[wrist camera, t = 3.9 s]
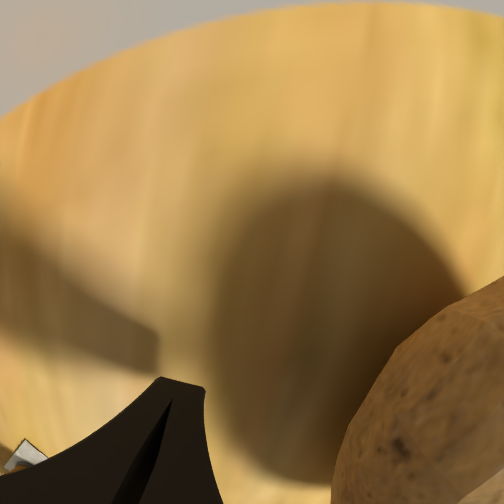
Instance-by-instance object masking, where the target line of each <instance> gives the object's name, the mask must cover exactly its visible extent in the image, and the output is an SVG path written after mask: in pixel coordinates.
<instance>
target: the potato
mask: <svg viewBox="0 0 504 504" xmlns="http://www.w3.org/2000/svg"><path fill="white" fill-rule="evenodd" d="M331 504H504V276H503V277H501V278H499V279H497V280H496V281H494V282H492V283H490V284H489V285H487V286H485V287H483V288H482V289H480V290H478V291H476V292H474V293H472V294H470V295H469V296H467V297H465V298H463V299H461V300H459V301H457V302H455V303H453V304H451V305H449V306H447V307H445V308H444V309H443V310H441V311H440V312H439V313H437V314H436V315H434V316H433V317H432V318H430V319H429V320H428V321H427V322H426V323H425V324H424V325H422V326H421V327H420V328H419V329H418V330H416V331H415V332H414V333H413V334H412V335H410V336H409V337H408V338H407V339H406V340H404V341H403V342H402V343H401V344H399V345H398V346H397V347H396V349H395V351H394V352H393V354H392V355H391V357H390V359H389V360H388V362H387V363H386V365H385V367H384V368H383V370H382V371H381V373H380V374H379V376H378V377H377V379H376V381H375V382H374V384H373V386H372V388H371V389H370V391H369V393H368V394H367V396H366V398H365V399H364V401H363V403H362V404H361V406H360V408H359V409H358V411H357V413H356V414H355V416H354V417H353V419H352V420H351V422H350V424H349V425H348V428H347V431H346V434H345V437H344V439H343V442H342V445H341V448H340V451H339V454H338V456H337V459H336V465H335V470H334V475H333V481H332V486H331Z"/></svg>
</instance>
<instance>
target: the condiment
mask: <svg viewBox="0 0 504 504" xmlns="http://www.w3.org/2000/svg"><path fill="white" fill-rule="evenodd" d="M46 459H48V458H47V457H46V456H44V455H43V454H42V453H40V452H39V451H37V450H36V449H35V448H34V447H33V446H32V445H30V444H29V443H28V442H27V441H26V440H25V441H24V442H23V444H22V445H21V446H20V447H19V448H18V450H17V451H16V452H15V453H14V454H13V456H12V457H11V458H10V459H9V461H8V462H7V463H6V464H5V466H4V468H5V469H7V470H8V471H9V473H11V472H15V471H18V470H21V469H24V468H27V467H29V466H32V465H34V464H37V463H39V462H41V461H44V460H46ZM7 474H8V473H7Z"/></svg>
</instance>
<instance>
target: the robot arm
mask: <svg viewBox="0 0 504 504" xmlns="http://www.w3.org/2000/svg"><path fill="white" fill-rule="evenodd" d="M205 393H206V391H205V389H204V388H203V387H201V386H197V385H192V384H188V383H184V382H180V381H176V380H172V379H169V378H165V377H158V378H157V379H156V380H155V381H154V382H153V383H152V384H151V385H150V386H149V387H148V388H147V389H146V390H145V391H144V392H143V393H142V394H141V395H140V396H139V397H138V398H136V399H135V400H134V401H133V402H132V403H131V404H130V405H129V406H127V407H126V408H125V409H124V410H123V411H121V412H120V413H119V414H118V415H117V416H115V417H114V418H113V419H112V420H110V421H109V422H108V423H106V424H105V425H103V426H102V427H101V428H99V429H98V430H97V431H95V432H94V433H92V434H91V435H89V436H88V437H86V438H85V439H83V440H82V441H80V442H78V443H77V444H75V445H73V446H71V447H70V448H68V449H66V450H64V451H62V452H60V453H59V454H56V455H54V456H52V457H50V458H48V459H46V460H44V461H41V462H39V463H37V464H34V465H32V466H29V467H27V468H24V469H21V470H18V471H15V472H11V473H8V474H5V475H1V476H0V504H223V501H222V498H221V496H220V493H219V490H218V487H217V484H216V481H215V477H214V474H213V470H212V466H211V462H210V457H209V453H208V447H207V441H206V434H205V426H204V398H205Z"/></svg>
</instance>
